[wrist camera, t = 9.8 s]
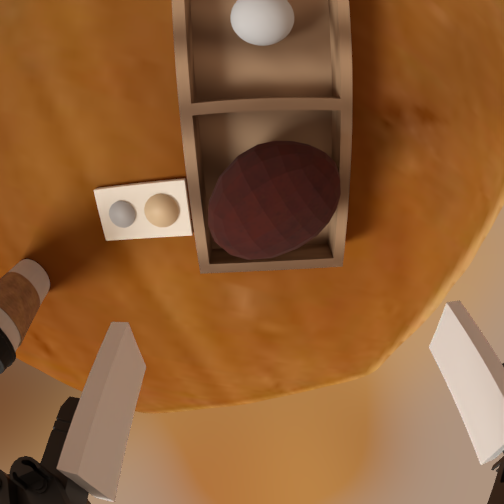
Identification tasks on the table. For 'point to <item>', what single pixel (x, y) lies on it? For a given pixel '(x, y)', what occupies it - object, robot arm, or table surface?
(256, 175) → the dark brown ovoid
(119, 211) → the tile
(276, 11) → the ball
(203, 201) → the divided wooden tray
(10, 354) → the coffee cup
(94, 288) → the table surface
